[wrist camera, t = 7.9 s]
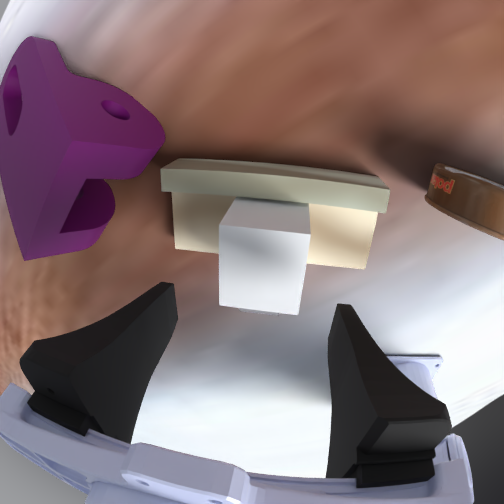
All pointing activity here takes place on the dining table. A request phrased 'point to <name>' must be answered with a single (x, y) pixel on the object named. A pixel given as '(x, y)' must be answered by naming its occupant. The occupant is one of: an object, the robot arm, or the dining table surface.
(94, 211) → the mounting bracket
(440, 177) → the tin
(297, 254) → the white block
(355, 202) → the rail
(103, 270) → the dining table surface
